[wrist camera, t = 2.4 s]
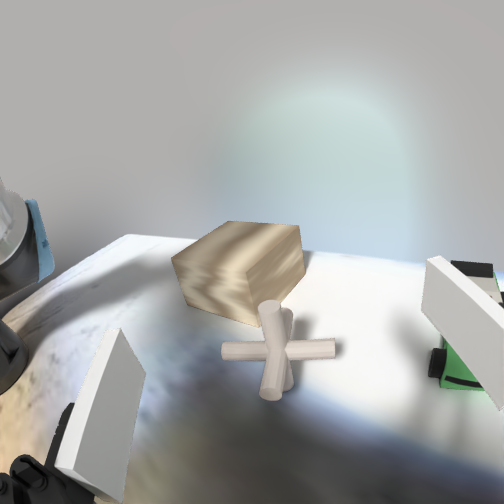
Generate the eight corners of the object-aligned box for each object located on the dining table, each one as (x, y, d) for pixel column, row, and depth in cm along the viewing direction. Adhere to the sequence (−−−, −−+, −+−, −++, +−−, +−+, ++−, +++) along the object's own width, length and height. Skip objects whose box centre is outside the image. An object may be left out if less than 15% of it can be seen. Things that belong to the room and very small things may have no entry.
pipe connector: (334, 347, 31) (330, 269, 27) (334, 425, 22) (335, 349, 18) (246, 350, 33) (225, 276, 29) (225, 422, 25) (189, 350, 20)
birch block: (187, 304, 44) (170, 257, 41) (238, 263, 53) (228, 220, 50) (258, 327, 37) (245, 272, 33) (305, 274, 46) (298, 225, 42)
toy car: (424, 396, 22) (436, 362, 20) (434, 284, 36) (438, 252, 34) (514, 402, 17) (535, 368, 15) (497, 289, 31) (505, 258, 29)
